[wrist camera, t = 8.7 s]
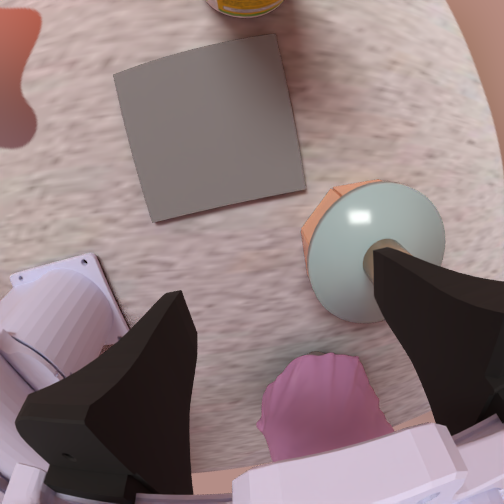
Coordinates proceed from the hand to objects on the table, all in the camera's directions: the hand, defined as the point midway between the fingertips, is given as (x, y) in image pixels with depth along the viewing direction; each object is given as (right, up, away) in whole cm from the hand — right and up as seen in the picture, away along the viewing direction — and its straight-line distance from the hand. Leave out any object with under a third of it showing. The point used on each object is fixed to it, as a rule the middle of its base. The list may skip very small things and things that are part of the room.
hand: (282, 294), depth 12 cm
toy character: (+4, -10, +16) cm, 19 cm away
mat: (-4, +9, +7) cm, 12 cm away
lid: (+7, +1, +7) cm, 10 cm away
